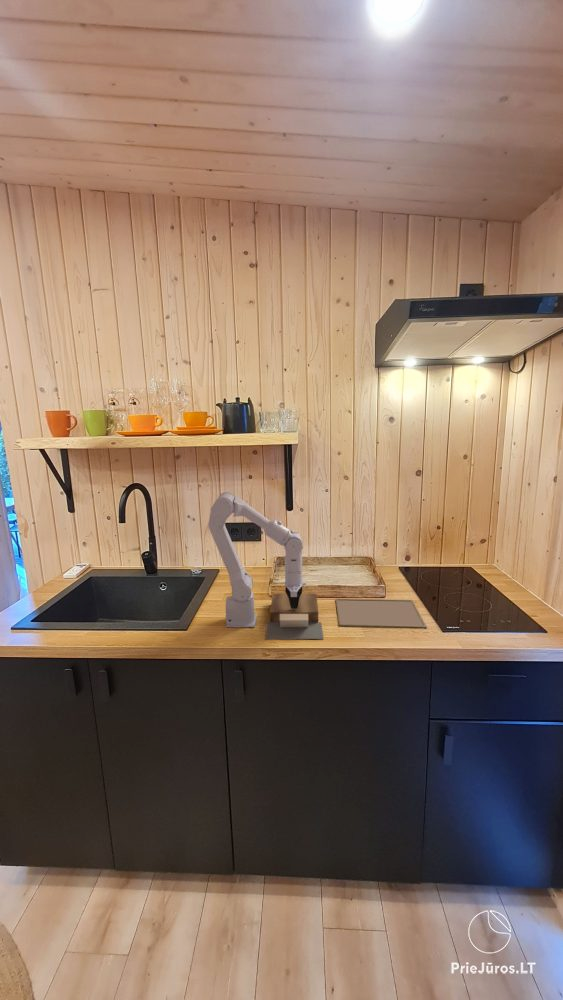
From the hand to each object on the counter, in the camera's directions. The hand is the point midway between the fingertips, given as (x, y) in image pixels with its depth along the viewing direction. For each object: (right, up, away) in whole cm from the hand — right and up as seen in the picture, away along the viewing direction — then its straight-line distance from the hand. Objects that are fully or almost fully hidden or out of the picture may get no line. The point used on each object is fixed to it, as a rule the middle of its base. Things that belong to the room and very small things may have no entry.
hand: (294, 607), depth 135 cm
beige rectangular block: (0, -2, -5) cm, 5 cm away
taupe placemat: (+29, -4, +5) cm, 30 cm away
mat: (0, -6, -6) cm, 8 cm away
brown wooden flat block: (0, -4, +6) cm, 7 cm away
